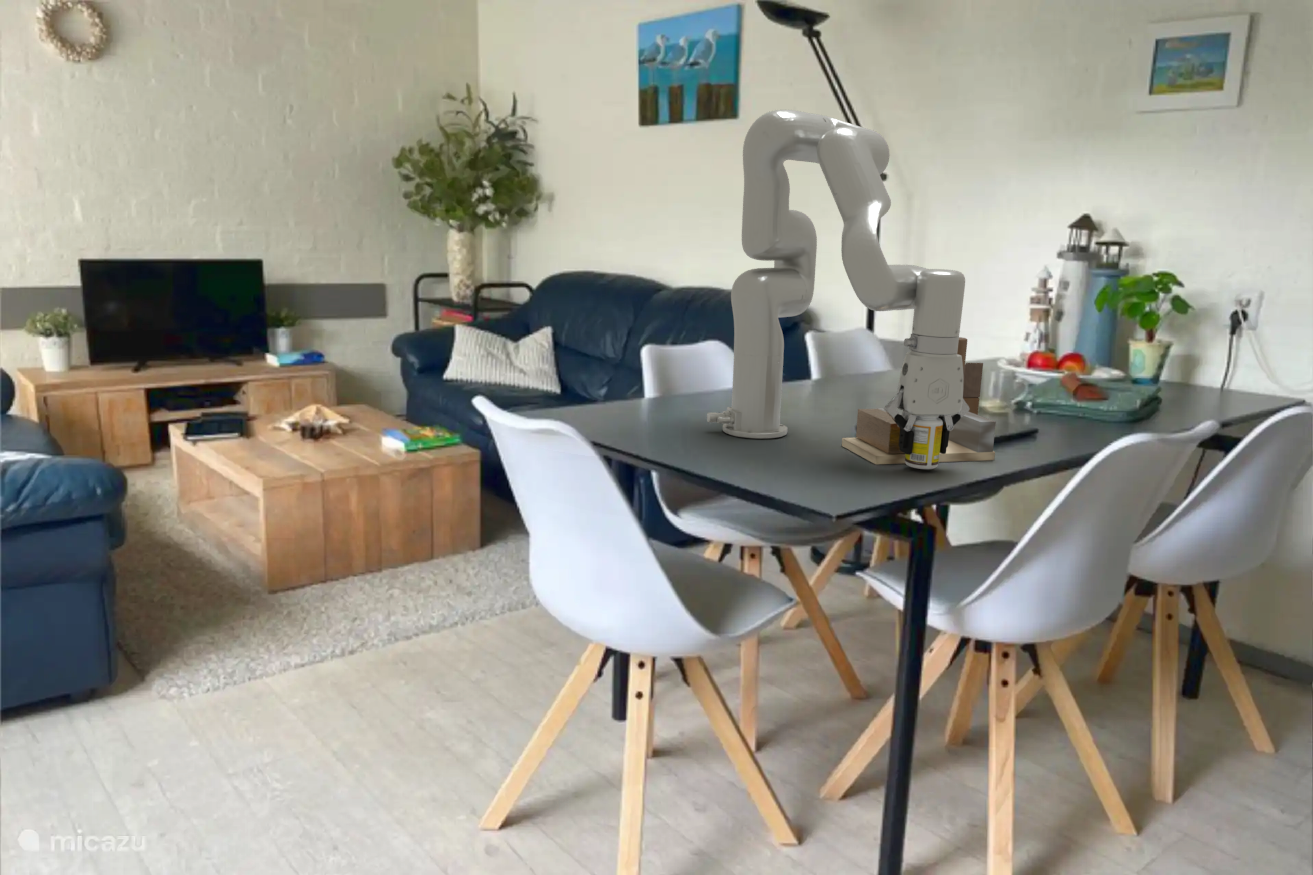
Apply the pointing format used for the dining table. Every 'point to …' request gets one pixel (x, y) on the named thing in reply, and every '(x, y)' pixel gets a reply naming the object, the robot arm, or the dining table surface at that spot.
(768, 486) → the dining table surface
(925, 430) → the supplement bottle
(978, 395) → the wooden block
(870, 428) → the block
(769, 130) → the robot arm
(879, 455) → the vise bed
